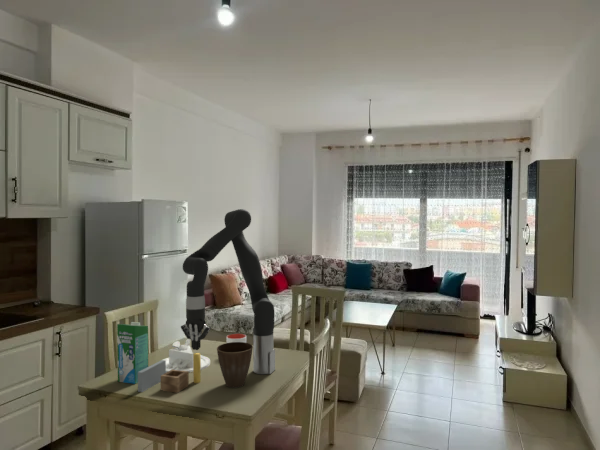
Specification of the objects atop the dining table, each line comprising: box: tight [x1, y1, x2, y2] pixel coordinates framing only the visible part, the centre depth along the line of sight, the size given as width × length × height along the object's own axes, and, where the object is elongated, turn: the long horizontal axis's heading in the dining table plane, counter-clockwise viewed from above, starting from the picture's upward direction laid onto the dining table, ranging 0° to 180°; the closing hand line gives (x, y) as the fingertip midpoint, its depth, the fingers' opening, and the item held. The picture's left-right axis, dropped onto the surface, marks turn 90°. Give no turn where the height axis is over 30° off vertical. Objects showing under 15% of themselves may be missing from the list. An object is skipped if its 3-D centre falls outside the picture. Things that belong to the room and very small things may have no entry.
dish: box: [162, 339, 211, 374], centre depth 216 cm, size 25×25×11 cm
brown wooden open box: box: [160, 369, 190, 393], centre depth 186 cm, size 8×8×6 cm
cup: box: [226, 333, 247, 343], centre depth 229 cm, size 10×10×10 cm
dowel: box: [192, 352, 202, 384], centre depth 193 cm, size 3×3×12 cm
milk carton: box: [116, 321, 149, 385], centre depth 196 cm, size 9×9×25 cm
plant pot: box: [216, 342, 253, 389], centre depth 189 cm, size 15×15×16 cm
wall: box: [137, 359, 166, 393], centre depth 189 cm, size 2×16×8 cm, turn 162°
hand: (195, 349), depth 183 cm, fingers closed
